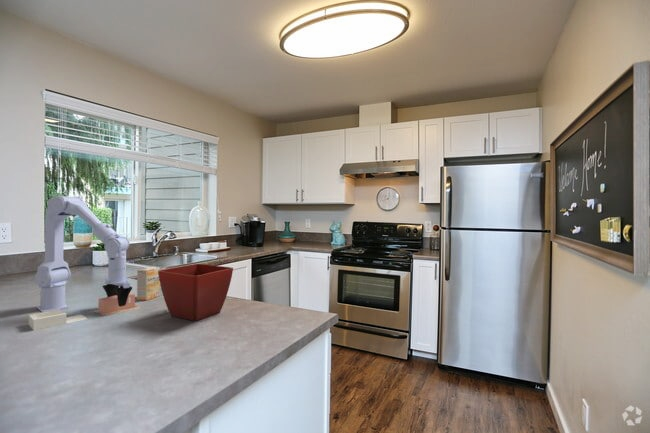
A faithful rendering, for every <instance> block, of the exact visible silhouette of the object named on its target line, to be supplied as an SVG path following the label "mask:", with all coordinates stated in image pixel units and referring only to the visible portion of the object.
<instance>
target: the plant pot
mask: <svg viewBox="0 0 650 433" xmlns="http://www.w3.org/2000/svg"><path fill="white" fill-rule="evenodd" d="M233 272H234V267H231V266H223V265H212V264H204V263H194V264H188V265H182V266H177V267H171V268H165V269H160V270H159V271H158V275H159V281H160V289H161V293H162V296H163V299H164V302H165V304H166V307H167V310H168V312H169V314H170V316H171V317H175V318H180V319H185V320H188V321H191V322H197V321H199V320H202V319H204V318H207V317H210V316H213V315H215V314H218V313H220V312H221V311H222V308H223V306H224V303H225V300H226V298H227V296H228V293H229V290H230V289H229V288H230V286H231V281H232V277H233Z"/></svg>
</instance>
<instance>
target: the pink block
mask: <svg viewBox="0 0 650 433" xmlns="http://www.w3.org/2000/svg"><path fill="white" fill-rule="evenodd" d="M135 306H136V294H135V293H132V292H130V293H129V295H128V298H127V302H126V305H125V306H121V307H120V306H119V305H118V298H117V295H116V296H111V297H101V298H98V310H99V313H102V314H106V313H111V312H115V311H119V310H123V309H127V308H132V307H135Z"/></svg>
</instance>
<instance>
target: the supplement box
mask: <svg viewBox="0 0 650 433" xmlns="http://www.w3.org/2000/svg"><path fill="white" fill-rule="evenodd" d="M159 270H161V268H160V267H159V266H152V267H151V266H150V267H146V268H142V269H137V274H136V275H137V279H136V280H137V281H136V283H137V284H136V290H137V291H136V293H137V294H136V300H137V301H144V302H145V301H146V302H147V301H149V300H151V299H155V298H157V297H160V289H161V285H160V281H159V275H158V271H159Z"/></svg>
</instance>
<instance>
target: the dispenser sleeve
mask: <svg viewBox="0 0 650 433" xmlns="http://www.w3.org/2000/svg"><path fill="white" fill-rule="evenodd" d="M95 312H96V313H95ZM93 313H95V314H97V315H99V316H100V317H104V315H103V314H101V313H99V312H98V311H96V310H93ZM85 320H88V318H87V317H86V316H85V315H83V314H76V315H71V316H70V315H69V316H67V313H66V312H63V313H62V309H58V310H53V311H47V312H37V313H32V314H28V326H29V327H30V328H31V329H32V331H39V330H43V329H48V328H53V327H57V326H61V325H65V324H70V323H77V322H80V321H85Z"/></svg>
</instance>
